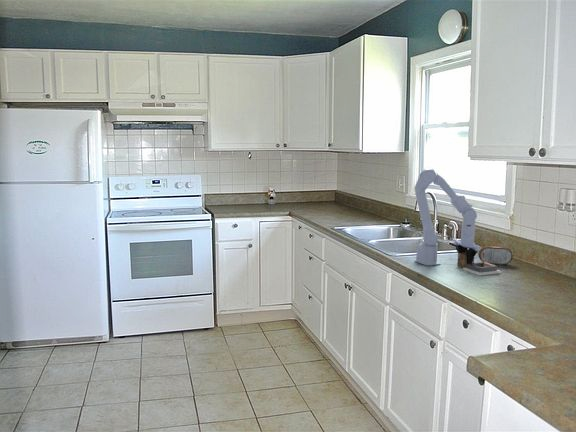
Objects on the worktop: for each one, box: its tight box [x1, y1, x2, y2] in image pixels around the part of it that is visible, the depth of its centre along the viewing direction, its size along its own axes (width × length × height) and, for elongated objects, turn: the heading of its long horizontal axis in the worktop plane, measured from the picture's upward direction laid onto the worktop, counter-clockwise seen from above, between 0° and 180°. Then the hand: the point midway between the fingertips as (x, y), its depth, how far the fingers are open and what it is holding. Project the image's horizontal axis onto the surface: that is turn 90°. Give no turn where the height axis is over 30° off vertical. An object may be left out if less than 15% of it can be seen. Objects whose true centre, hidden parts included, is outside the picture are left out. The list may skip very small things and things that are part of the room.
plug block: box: [457, 252, 475, 269], centre depth 246 cm, size 4×6×6 cm, turn 115°
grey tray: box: [462, 261, 501, 276], centre depth 238 cm, size 10×12×3 cm
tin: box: [477, 245, 514, 266], centre depth 252 cm, size 15×3×8 cm, turn 80°
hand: (465, 263), depth 247 cm, fingers closed on plug block, 4 cm apart
